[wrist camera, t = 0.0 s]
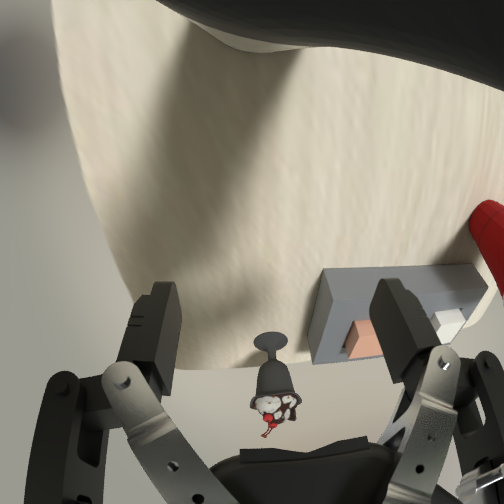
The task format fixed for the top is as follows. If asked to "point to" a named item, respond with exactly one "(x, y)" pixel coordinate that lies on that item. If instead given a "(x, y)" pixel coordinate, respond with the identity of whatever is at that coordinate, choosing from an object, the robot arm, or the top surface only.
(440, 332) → the ivory key
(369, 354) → the terracotta key
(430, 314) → the key panel
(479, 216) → the plastic cup
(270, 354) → the sundae
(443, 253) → the top surface
